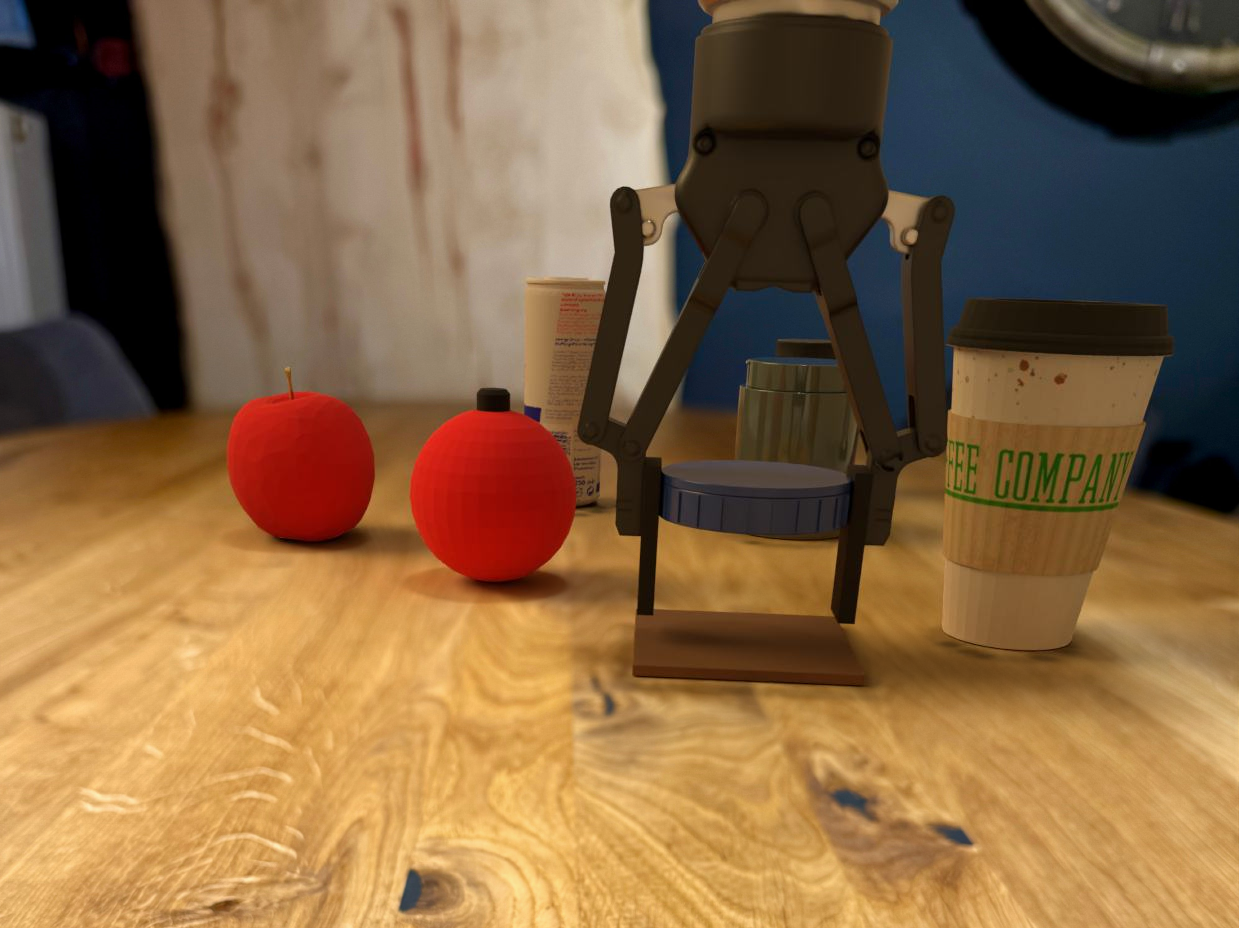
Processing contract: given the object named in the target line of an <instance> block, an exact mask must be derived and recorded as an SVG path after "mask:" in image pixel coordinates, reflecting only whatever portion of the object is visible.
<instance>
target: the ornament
mask: <svg viewBox="0 0 1239 928" xmlns="http://www.w3.org/2000/svg"><path fill="white" fill-rule="evenodd" d="M576 498H577V497H576V482H575V477H574V474H573V470H572V466H571V463H570V461H569V459H568V457H567V455H566V453H565V451H564V449H563V448H562V446H561V445H560V444H559V442H558V441H557V440H556V438H555V437H554V436H553V435H552V434H551V433H550V432H549V431H548V430H547V429H546V428H544V427H543V426H542V425H541V424H540V423H538V422H537V421H535V420H533V419H532V418H530V417H528V416H526V415H524V413H521V412H518V411H515V410H512V409H511V393H510V391H509V390H508V389H507V388H503V387H481V388H480V389H479V390H478V391H476V409H472V410H468V411H465V412H462V413H460V414H457V415H456V416H454V417H452V418H450V419H448V420H447V421H445V422H444V423H443V424H442V425H441V426H439V428H437V429H436V430H435V431H433V433H432V434H431V435H430V437H429V438H428V439H427V440H426V442H425V443H424V445H422V447H421V449H420V451H419V454H418V455H417V457H416V460H415V462H414V465H413V469H412V473H411V476H410V485H409V501H410V508H411V514H412V518H413V520H414V522H415V526H416V529H417V532H418V534H419V535H420V537H421V539H422V542H424V544H425V546H426V547H427V548H428V550H429V551H430V552H431V553H432V554H433V556H434V557H435V558H436V559H437V560H438V561H440V562H441V563H443V564H444V565H445V566H446V567H448V569H450V570H452V571H453V572H455V573H458V574H459V575H461V576H463V577H466V578H468V579H471V580H472V579H473V580H477V581H482V582H487V583H488V582H489V583H501V582H509V581H512V580H519V579H521V578H524V577H525V576H527V575H531V574H532V573H534V572H536V571H538V570H539V569H540V568H542V567H543V566H544V565H546V564H547V563H548V562H550V560H552V558H554V557H555V555H556V554H557V552H558V551H560V549H561V548H562V547H563V545H564V543H565V541H566V540H567V538H568V536H569V534H570V532H571V529H572V525H573V522H574V519H575V516H576V515H575V514H576V507H577V506H576Z"/></svg>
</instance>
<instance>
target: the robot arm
mask: <svg viewBox="0 0 1239 928" xmlns="http://www.w3.org/2000/svg"><path fill="white" fill-rule="evenodd" d="M697 2H698V5H699V7H700V8H701V9H702V11H703V12H704V13H705V14H707V15H709V16H710V17H712V23H710V24H708V25H706V26H704V27H703V28H702V30H701V32H700V33H701V34H700V35H698V36H696V38H695V41H694V42H695V43H694V59H693V60H694V62H693V78H692V79H693V80H692V95H691V111H690V112H691V113H690V129H689V145H688V155H687V158H686V161H685V164H684V166H683V168H682V170H681V172H680V173H679V176H678V177H677V179H676V182H675V183H671V184H664V185H658V186H652V187H644V188H638V189H634V188H632V187H630V186H624V185H623V186H620V187H618V188H616V189H615V190H614V191H613V192H612V194H611V196H610V199H609V212H610V221H611V231H612V240H613V241H612V242H613V251H614V253H613V258H612V263H611V267H610V272H609V276H608V281H607V286H606V290H605V293H606V295H605V300H604V304H603V309H602V314H601V318H600V323H599V328H598V333H597V337H596V342H595V347H594V351H593V356H592V361H591V365H590V370H589V375H588V380H587V384H586V389H585V394H584V398H583V403H582V408H581V413H580V417H579V422H578V427H577V434H578V436H579V439H580V440H581V441H582V442H583V443H585V444H587V445H593V446H595V447H598V448H600V449H601V451H605V452H607V453H609V454H610V455H611V456H612V457H613V459H614V460H615V463H616V467H617V472H616V474H617V475H616V495H615V496H616V497H615V499H616V500H615V520H614V521H615V527H616V530H617V533H618V535H619V536H621V537H640V543H639V544H640V545H639V564H638V582H637V584H638V585H637V601H636V602H637V603H636V609H637V615H649V616H653V613H654V609H655V592H656V578H657V577H656V576H657V560H658V559H657V558H658V541H659V540H658V538H659V525H660V524H659V522H660V516H659V506H660V488H661V471H662V468H663V464H662V463H663V461H662V460H663V459H662V457H661V456H647V451H648V449H649V447H650V446H651V443H652V441H653V439H654V437H655V435H656V433H657V432H658V429H659V427H660V425H661V423H662V422H663V419H664V417H665V415H666V413H667V411H668V409H669V407H670V405H671V403H672V401H673V399H674V397H675V395H676V393H677V391H678V389H679V387H680V385H681V383H682V381H683V378H684V377H685V375H686V373H687V371H688V369H689V367H690V364H691V363H692V361H693V359H694V356H695V354H696V352H697V351H698V348H699V347H700V345H701V343H702V340H703V339H704V336H705V335H706V333H707V330H708V329H709V326H710V325H711V322H712V321H713V319H714V317H715V315H716V313H717V311H718V309H719V308H720V306H721V304H722V301H723V300H724V298H725V296H726V294H727V292H728V290H729V289H731V290H732V291H735V292H756V291H758V292H759V291H761V290H765V289H769V288H772V287H773V288H777V289H780V290H782V291H786V292H788V293H794V294H812V293H813V294H814V297H815V300H816V303H817V306H818V309H819V312H820V313H821V315H822V319H823V322H824V326H825V329H826V331H827V334H828V337H829V340H830V341H831V344H832V347H833V351H834V354H835V357H836V360H837V363H838V366H839V370H840V373H841V376H842V379H843V382H844V386H845V389H846V392H847V395H848V398H849V401H850V405H851V408H852V411H853V414H854V417H855V421H856V424H857V427H858V430H859V437H860V441H861V443H862V445H863V446H862V447H863V449H864V452H865V455H866V460H865V464H855V465H853V464H848V465H847V475H849V476H850V477H851V478H852V480H853V481H852V488H851V498H850V506H849V514H848V522H847V525H846V526H844V527H843V528H841V529H840V533H839V537H838V542H837V551H836V559H835V567H834V575H833V576H834V577H833V584H832V593H831V601H830V602H831V603H830V611H831V613H832V615H833V616H834V617H835V619H836V621H837V623H838V624H840V625H855V624H856V616H857V608H858V600H859V592H860V586H861V578H862V570H863V561H864V553H865V547H866V546H871V547H872V546H875V547H884V546H885V545H886V543H887V541H888V539H889V538H890V535H891V531H892V523H893V515H894V510H895V509H894V508H895V501H896V493H897V485H898V480H899V475H900V473H901V472H902V470H904V468H905V467H906V466H908V465H910V464H912V463H914V462H917V461H920V460H921V461H922V460H925V459H927V458H933V459H934V458H937V457H939V456H940V455H942V453H944V452H945V451H946V450H947V441H948V437H947V425H948V410H947V388H946V384H947V383H946V359H945V358H946V357H945V354H946V353H945V331H944V326H945V325H944V302H943V301H944V299H943V274H942V261H943V258H944V254H945V250H946V247H947V244H948V239H949V236H950V232H951V230H952V226H953V223H954V219H955V215H956V207H955V203H954V201H953V200H952V199H951V198H950V197H949V196H947V195H935V196H932V197H924V196H919V195H915V194H911V193H906V192H900V191H895V190H892V189H889V184H888V181H887V179H886V176H885V173H884V170H883V166H882V158H881V157H882V156H881V155H882V152H881V151H882V141H883V135H884V134H883V132H884V125H885V116H886V107H887V100H888V99H887V98H888V90H889V82H890V72H891V66H892V65H891V64H892V58H893V57H892V56H893V47H894V40H893V38H891V37H890V36H889V35H890V33H889V30H888V29H887V28H886V27H883V26H882V24H881V23H880V22H881V19H882V18H884V17H886V16H888V15H889V14H890V13H891V12H892V11H893V10H894V9H895V8H896V7H897V6H898V4H899V0H697ZM675 213H678V215H679V216H680V218H681V220H682V221H683V223H684V225H685V226H686V228H687V230H688V232H689V233H690V235H691V237H692V239H693V240H694V242H695V244H696V246H697V247H698V249H699V251H700V252H701V255H702V256H703V258H704V260H705V261H704V262H703V265H702V267H701V269H700V271H699V273H698V275H697V277H696V280H695V281H694V283H693V286H692V288H691V290H690V292H689V295H688V296H687V299H686V300H685V302H684V305H683V307H682V309H681V310H680V313H679V315H678V317H677V319H676V321H675V323H674V326H673V327H672V330H671V331H670V333H669V336H668V338H667V339H666V342H665V344H664V346H663V348H662V350H661V352H660V354H659V356H658V358H657V360H656V362H655V364H654V366H653V368H652V371H651V373H650V375H649V377H648V379H647V381H646V383H645V385H644V387H643V389H642V391H641V393H640V395H639V397H638V399H637V402H636V404H635V405H634V408H633V409H632V412H631V413H630V415H629V417H628V420H627V422H626V423H625V422H622V421H620V420H618V419H617V418H614V417H611V416H610V415H611V410H612V405H613V402H614V401H613V400H614V396H615V392H616V389H617V383H618V378H619V374H620V370H621V365H622V361H623V355H624V352H625V348H626V343H627V339H628V334H629V329H630V325H631V320H632V315H633V311H634V307H635V302H636V297H637V295H638V294H637V293H638V288H639V283H640V280H641V276H642V271H643V270H642V269H643V264H644V257H645V247H650V246H653V245H655V244H656V243H657V242H658V241H659V240H660V239H661V236H662V234H663V228H664V224H665V221H666V220H667V218H668V217H669V216H671V215H672V214H675ZM880 219H881V220H883V221H884V222H885V223H886V224H887V226H888V228H889V243H890V246H891V248H892V249H893V250H894V251H895V252H896V253H898V254H901V255H902V256H901V265H900V289H901V290H900V291H901V308H902V328H903V330H902V331H903V350H904V353H903V354H904V370H905V371H904V372H905V373H904V374H905V391H906V393H905V394H906V411H907V412H906V413H907V428H903V429H900V430H898V431H897V430H896V425H895V424H894V421H893V420H894V419H893V417H892V413H891V410H890V406H889V404H888V400H887V397H886V394H885V390H884V386H883V384H882V380H881V378H880V377H881V376H880V374H879V370H878V368H877V363H876V361H875V358H874V354H873V351H872V347H871V344H870V341H869V337H868V334H867V332H866V328H865V324H864V321H863V318H862V314H861V311H860V307H859V304H858V303H859V302H858V297H857V292H856V289H855V286H854V282H853V279H852V276H851V273H850V269H849V266H848V263H847V262H848V261H849V259H850V258H851V256H852V255H853V254H854V252H855V251H856V250H857V248H858V247H859V246H860V245H861V243H863V241H864V240H865V239H866V237H867V236H868V234H869V233H870V232H871V231H872V229H873V228H874V227H875V225H876V224H877V223H878V222H879V220H880Z"/></svg>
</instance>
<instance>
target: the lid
mask: <svg viewBox="0 0 1239 928" xmlns="http://www.w3.org/2000/svg"><path fill="white" fill-rule="evenodd" d="M852 481H853V480H852V478H851V477H850V476H849V475H847V474H845V473H842V472H839V471H835V470H831V469H826V468H821V467H815V466H808V465H800V464H791V463H781V462H767V461H745V460H734V459H717V460H716V459H712V460H709V459H708V460H693V461H682V462H676V463H671V464H667V465H665V466H662V471H661V488H660V506H659V518H661V519H662V520H664V521H665V522H668V523H672V524H675V525H678V526H681V527H686V528H691V529H695V530H700V531H701V530H702V531H707V532H715V533H722V534H723V533H724V534H736V535H747V536H748V535H749V536H754V535H807V534H818V533H825V532H831V531H835V530H838V529H841V528H843V527H844V526H846V525H847V522H848V514H849V506H850V498H851V488H852Z"/></svg>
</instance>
